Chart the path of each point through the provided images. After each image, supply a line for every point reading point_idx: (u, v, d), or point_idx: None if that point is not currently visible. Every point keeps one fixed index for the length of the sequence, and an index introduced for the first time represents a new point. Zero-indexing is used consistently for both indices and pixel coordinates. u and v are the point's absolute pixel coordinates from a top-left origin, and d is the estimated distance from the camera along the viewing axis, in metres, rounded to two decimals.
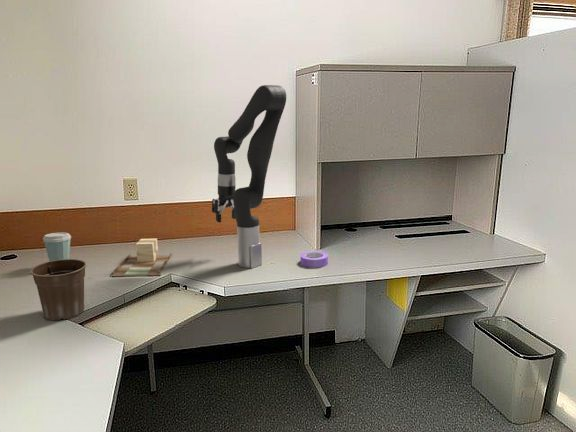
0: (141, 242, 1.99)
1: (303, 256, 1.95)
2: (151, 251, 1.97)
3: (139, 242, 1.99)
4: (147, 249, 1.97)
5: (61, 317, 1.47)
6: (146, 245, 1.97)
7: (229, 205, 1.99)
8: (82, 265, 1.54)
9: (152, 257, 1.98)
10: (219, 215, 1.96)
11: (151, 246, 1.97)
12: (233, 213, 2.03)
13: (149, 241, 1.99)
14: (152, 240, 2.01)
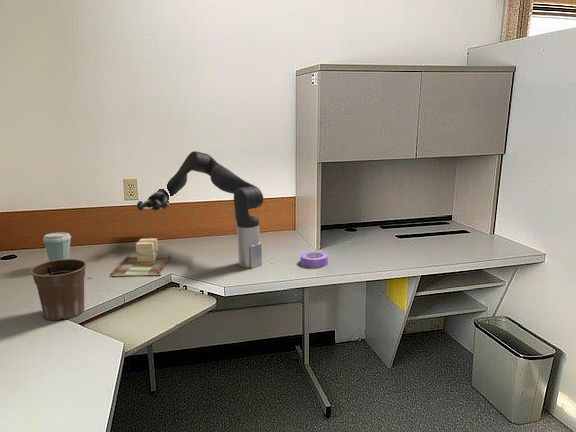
0: (141, 242, 1.99)
1: (303, 256, 1.95)
2: (151, 251, 1.97)
3: (139, 242, 1.99)
4: (147, 249, 1.97)
5: (61, 317, 1.47)
6: (146, 245, 1.97)
7: (153, 202, 2.12)
8: (82, 265, 1.54)
9: (152, 257, 1.98)
10: (141, 205, 2.08)
11: (151, 246, 1.97)
12: None
13: (149, 241, 1.99)
14: (152, 240, 2.01)
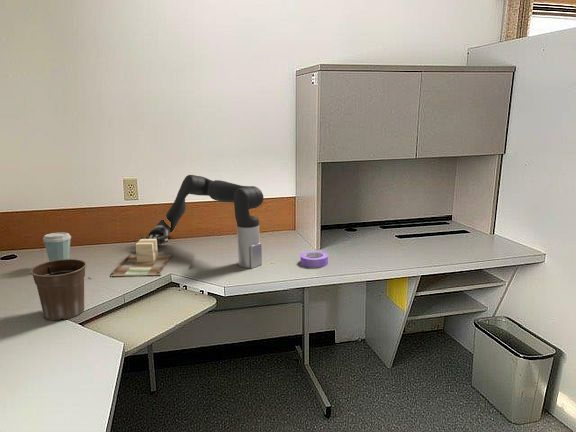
0: (141, 242, 1.98)
1: (303, 256, 1.95)
2: (151, 251, 1.97)
3: (139, 242, 1.98)
4: (147, 249, 1.97)
5: (61, 317, 1.47)
6: (146, 245, 1.96)
7: (152, 237, 2.13)
8: (82, 265, 1.54)
9: (152, 257, 1.98)
10: None
11: (151, 246, 1.96)
12: None
13: (148, 242, 1.99)
14: (152, 240, 2.01)
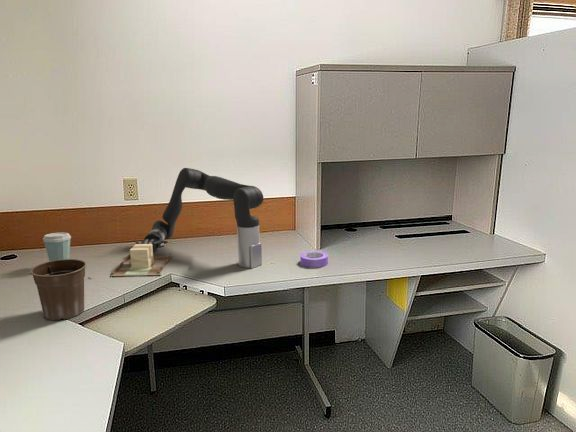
0: (135, 248, 1.90)
1: (303, 256, 1.95)
2: (146, 257, 1.89)
3: (133, 248, 1.91)
4: (142, 255, 1.89)
5: (61, 317, 1.47)
6: (141, 251, 1.89)
7: (148, 241, 2.05)
8: (82, 265, 1.54)
9: (147, 263, 1.90)
10: None
11: (146, 252, 1.89)
12: None
13: (143, 247, 1.91)
14: (147, 246, 1.93)
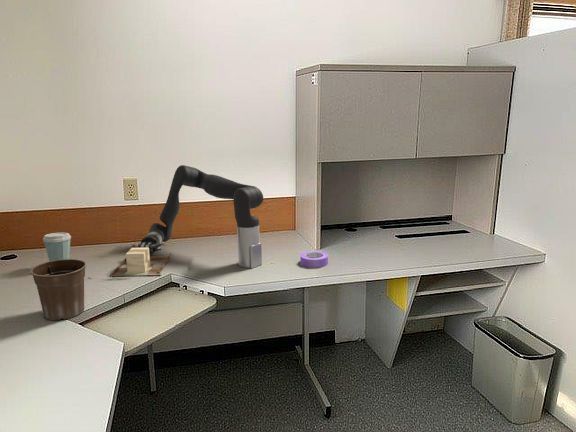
0: (132, 252, 1.85)
1: (303, 256, 1.95)
2: (142, 261, 1.84)
3: (129, 252, 1.86)
4: (138, 259, 1.84)
5: (61, 317, 1.47)
6: (137, 255, 1.84)
7: (145, 245, 2.00)
8: (82, 265, 1.54)
9: (143, 268, 1.85)
10: None
11: (142, 256, 1.84)
12: None
13: (140, 251, 1.86)
14: (143, 249, 1.88)
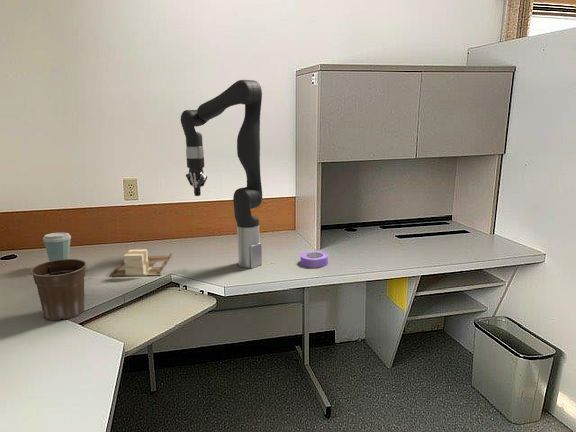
0: (130, 254, 1.83)
1: (303, 256, 1.95)
2: (140, 263, 1.82)
3: (127, 254, 1.83)
4: (136, 261, 1.82)
5: (61, 317, 1.47)
6: (135, 257, 1.81)
7: (193, 176, 2.03)
8: (82, 265, 1.54)
9: (142, 270, 1.83)
10: None
11: (140, 257, 1.81)
12: None
13: (138, 253, 1.84)
14: (142, 251, 1.86)
